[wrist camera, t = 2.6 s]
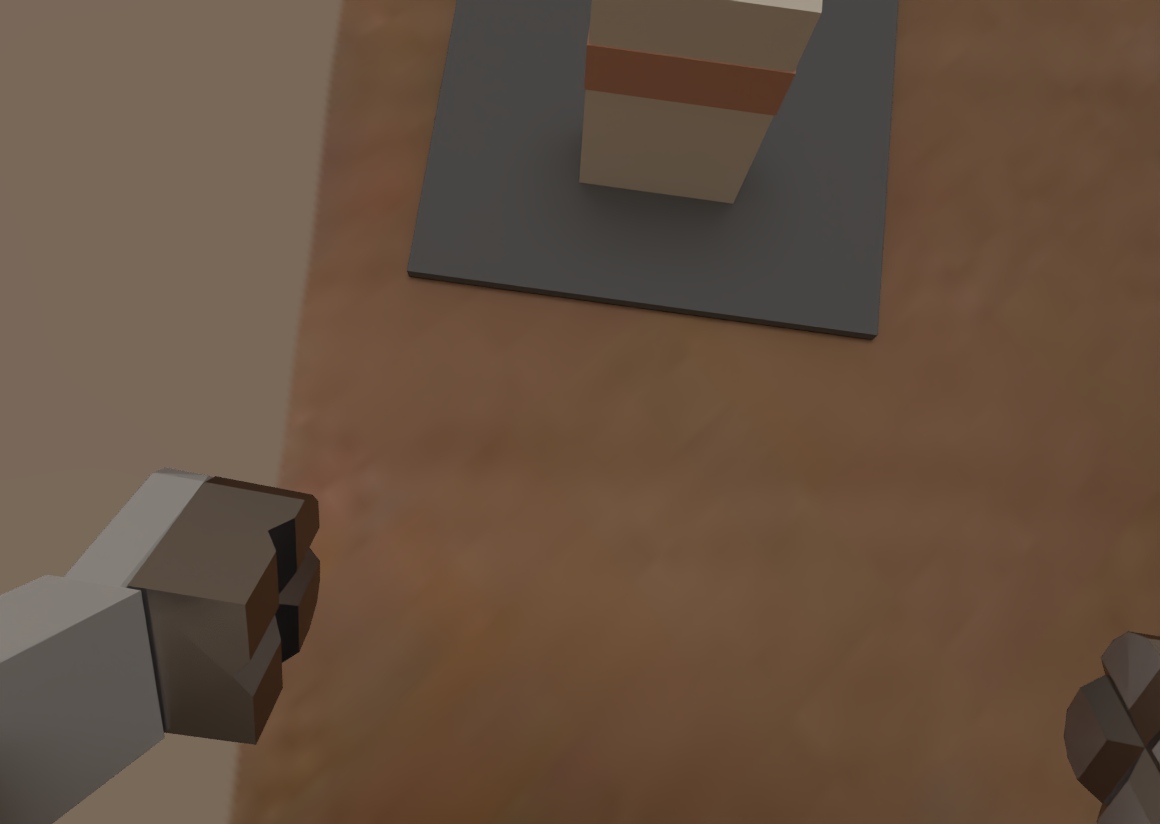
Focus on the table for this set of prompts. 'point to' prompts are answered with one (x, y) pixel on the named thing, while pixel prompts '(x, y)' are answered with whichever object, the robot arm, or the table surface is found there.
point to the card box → (686, 90)
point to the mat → (651, 220)
